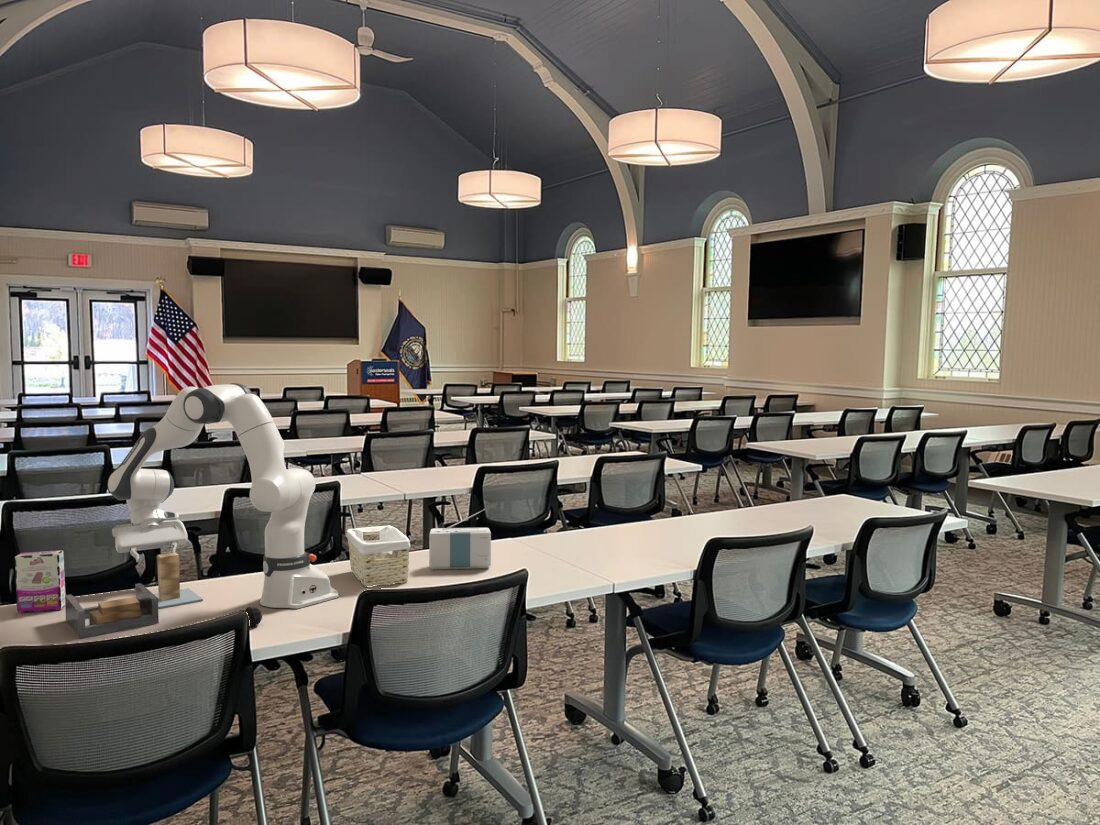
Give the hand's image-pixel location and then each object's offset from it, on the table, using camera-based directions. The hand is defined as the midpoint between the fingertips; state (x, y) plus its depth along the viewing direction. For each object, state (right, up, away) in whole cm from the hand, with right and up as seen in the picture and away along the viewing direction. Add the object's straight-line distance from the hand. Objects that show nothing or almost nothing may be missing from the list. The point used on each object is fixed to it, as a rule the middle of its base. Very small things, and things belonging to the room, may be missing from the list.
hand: (156, 558), depth 248 cm
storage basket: (+64, -10, +18) cm, 67 cm away
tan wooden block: (+8, -10, -8) cm, 15 cm away
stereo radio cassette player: (+90, -9, +32) cm, 96 cm away
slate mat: (+8, -11, -8) cm, 16 cm away
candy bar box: (-24, -11, -18) cm, 32 cm away
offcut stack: (+4, -13, -29) cm, 32 cm away
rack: (+2, -12, -28) cm, 31 cm away
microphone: (+34, -13, -34) cm, 50 cm away
